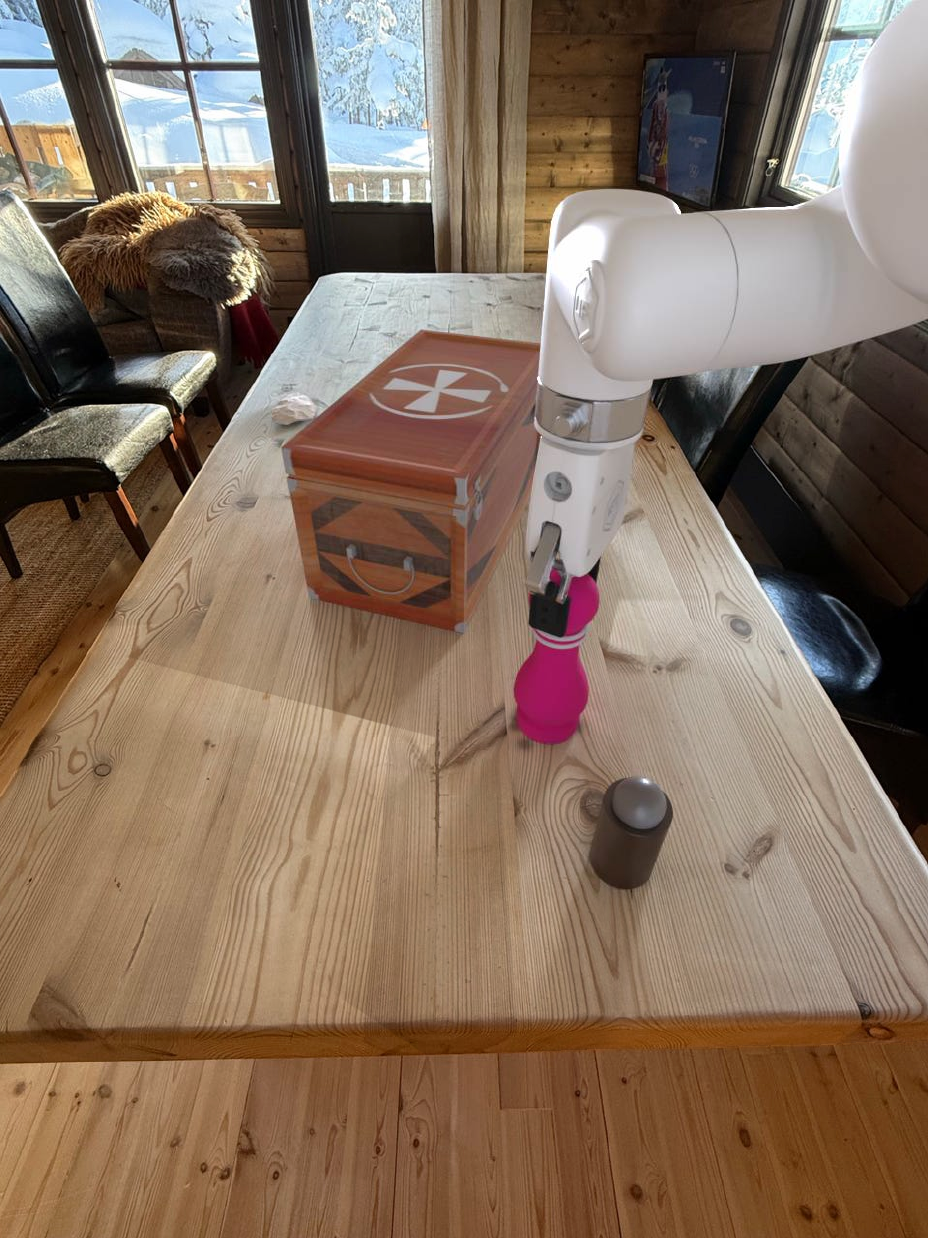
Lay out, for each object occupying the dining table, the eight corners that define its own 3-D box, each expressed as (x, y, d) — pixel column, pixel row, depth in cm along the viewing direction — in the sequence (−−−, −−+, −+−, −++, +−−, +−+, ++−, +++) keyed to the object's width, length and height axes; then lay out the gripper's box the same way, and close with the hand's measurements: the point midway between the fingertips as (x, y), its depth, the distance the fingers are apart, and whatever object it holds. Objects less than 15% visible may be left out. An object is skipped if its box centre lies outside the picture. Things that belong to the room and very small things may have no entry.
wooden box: (545, 473, 105) (557, 344, 92) (465, 635, 76) (467, 481, 63) (425, 453, 110) (421, 328, 97) (307, 599, 81) (278, 448, 68)
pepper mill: (514, 690, 70) (527, 530, 56) (583, 697, 69) (613, 537, 56) (508, 744, 64) (521, 581, 51) (582, 752, 63) (615, 590, 50)
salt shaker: (660, 849, 56) (688, 776, 49) (641, 901, 52) (668, 831, 46) (602, 822, 58) (621, 749, 51) (580, 871, 54) (598, 799, 48)
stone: (269, 429, 116) (267, 418, 115) (278, 397, 127) (276, 387, 125) (314, 427, 117) (312, 416, 116) (319, 396, 127) (318, 386, 126)
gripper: (598, 472, 38) (564, 687, 50) (679, 375, 49) (635, 569, 61) (483, 442, 41) (477, 653, 52) (585, 357, 52) (561, 546, 64)
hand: (562, 606), depth 57 cm, fingers closed on pepper mill, 6 cm apart
